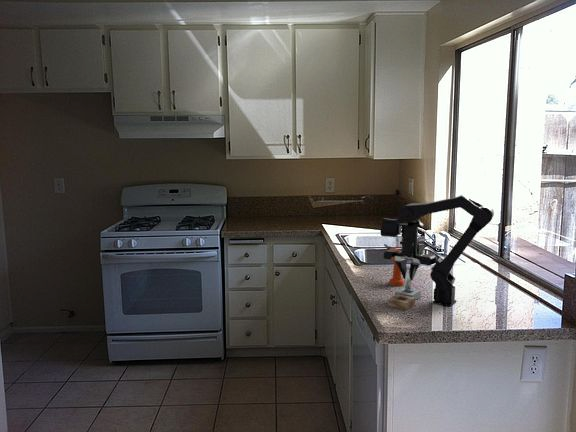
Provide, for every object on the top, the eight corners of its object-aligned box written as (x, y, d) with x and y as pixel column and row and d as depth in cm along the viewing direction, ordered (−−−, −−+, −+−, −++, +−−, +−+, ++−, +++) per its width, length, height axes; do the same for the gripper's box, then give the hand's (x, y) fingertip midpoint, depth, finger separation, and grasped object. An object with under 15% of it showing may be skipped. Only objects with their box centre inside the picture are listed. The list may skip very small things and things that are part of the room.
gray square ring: (420, 297, 192) (420, 290, 192) (412, 302, 187) (412, 295, 187) (403, 293, 197) (403, 287, 196) (394, 298, 191) (394, 291, 191)
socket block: (415, 304, 184) (415, 297, 184) (406, 309, 179) (406, 302, 178) (397, 300, 189) (397, 294, 188) (388, 305, 183) (388, 299, 183)
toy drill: (388, 270, 225) (390, 237, 221) (405, 288, 207) (409, 253, 203) (377, 271, 224) (379, 238, 220) (394, 288, 206) (397, 253, 202)
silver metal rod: (412, 288, 192) (413, 267, 190) (409, 290, 190) (410, 269, 188) (406, 287, 193) (407, 266, 192) (403, 288, 191) (404, 268, 190)
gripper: (442, 237, 189) (441, 278, 191) (396, 232, 200) (395, 271, 203) (430, 242, 180) (428, 285, 183) (382, 236, 192) (381, 277, 194)
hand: (408, 279), depth 191 cm, fingers closed on silver metal rod, 2 cm apart
